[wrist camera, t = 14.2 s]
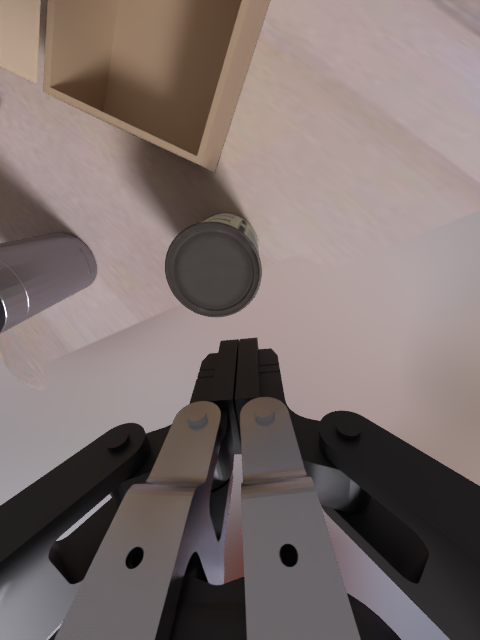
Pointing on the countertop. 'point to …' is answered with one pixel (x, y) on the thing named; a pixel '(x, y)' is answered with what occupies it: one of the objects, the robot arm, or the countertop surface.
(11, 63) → the carton flap
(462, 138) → the countertop surface
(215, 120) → the carton
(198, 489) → the robot arm
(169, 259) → the coffee can
